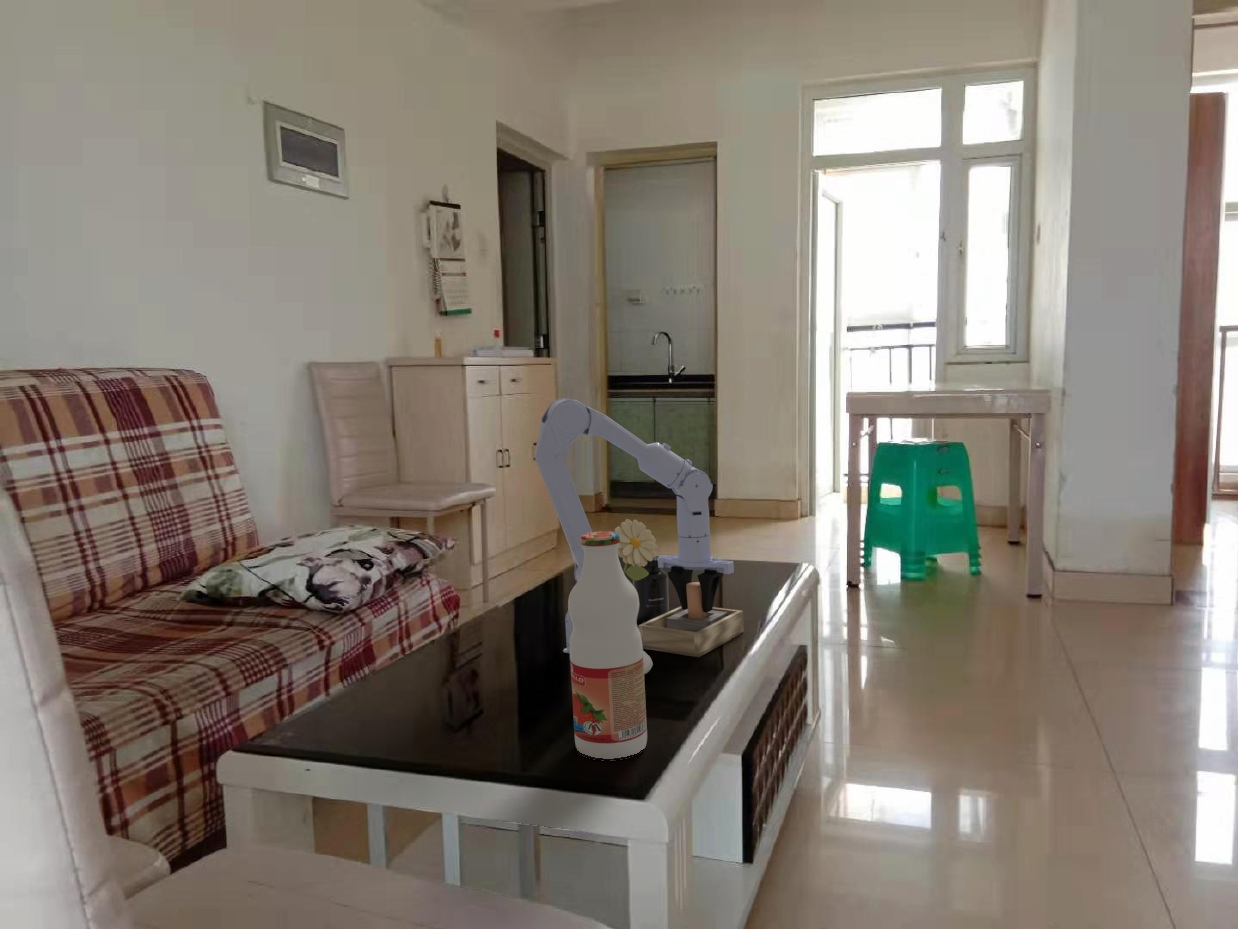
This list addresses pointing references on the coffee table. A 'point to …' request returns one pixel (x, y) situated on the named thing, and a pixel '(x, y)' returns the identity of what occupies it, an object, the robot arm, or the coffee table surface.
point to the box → (691, 631)
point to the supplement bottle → (652, 592)
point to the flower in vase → (636, 557)
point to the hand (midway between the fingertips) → (697, 609)
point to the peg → (695, 601)
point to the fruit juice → (606, 655)
